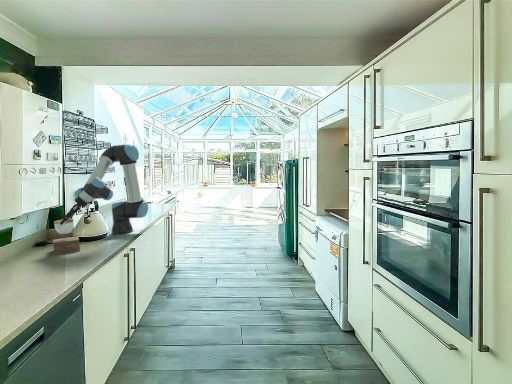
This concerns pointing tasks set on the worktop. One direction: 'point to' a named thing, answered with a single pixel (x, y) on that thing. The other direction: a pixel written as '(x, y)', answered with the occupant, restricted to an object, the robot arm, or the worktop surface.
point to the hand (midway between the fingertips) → (59, 226)
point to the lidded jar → (65, 226)
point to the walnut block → (66, 245)
